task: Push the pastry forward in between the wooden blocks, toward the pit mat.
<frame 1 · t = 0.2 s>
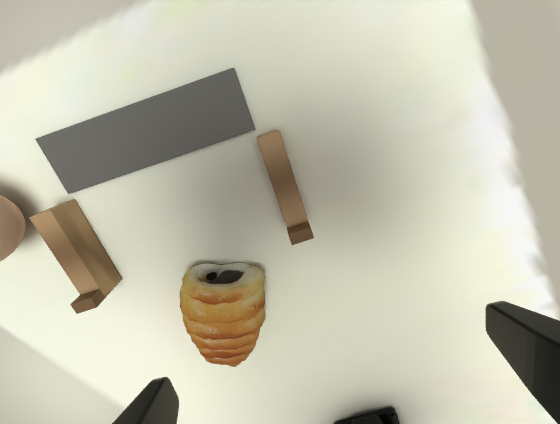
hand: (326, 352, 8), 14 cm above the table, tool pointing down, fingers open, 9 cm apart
egg: (11, 213, 21), on the table
pastry: (229, 298, 24), on the table
pit mat: (148, 134, 19), on the table
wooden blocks: (185, 212, 21), on the table
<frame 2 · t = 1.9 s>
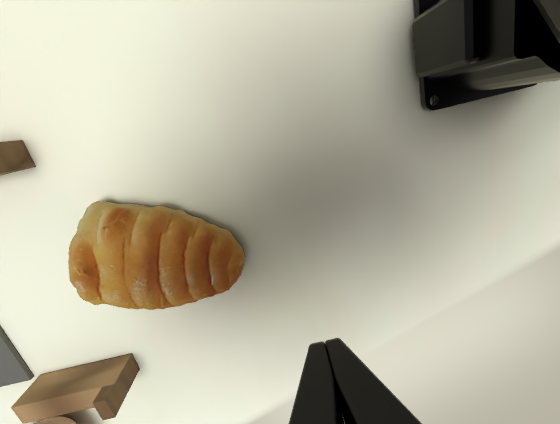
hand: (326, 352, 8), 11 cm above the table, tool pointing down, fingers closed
egg: (67, 420, 22), on the table
pastry: (163, 244, 18), on the table
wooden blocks: (38, 283, 18), on the table
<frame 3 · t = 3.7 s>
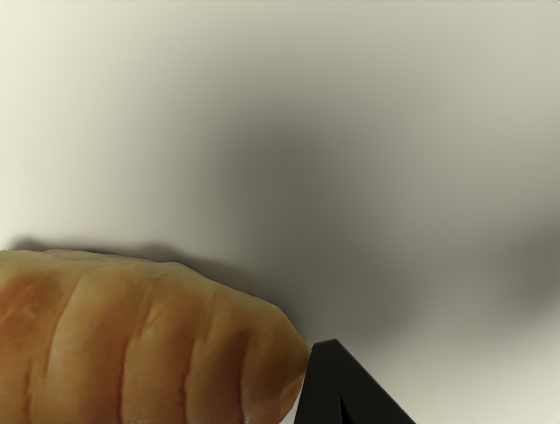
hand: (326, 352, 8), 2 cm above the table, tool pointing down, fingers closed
pastry: (143, 322, 10), on the table, touching gripper
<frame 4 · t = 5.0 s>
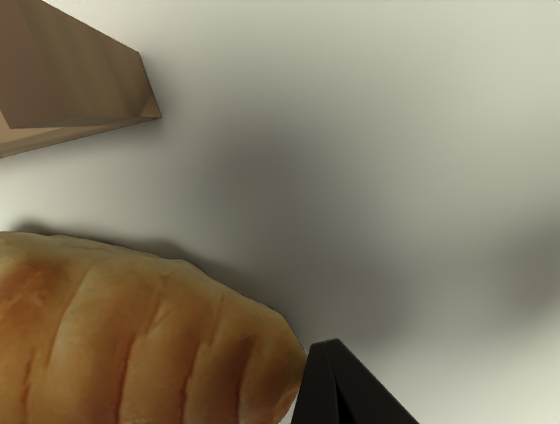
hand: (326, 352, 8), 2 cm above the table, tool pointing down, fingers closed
pastry: (141, 316, 9), on the table, touching gripper
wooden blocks: (136, 357, 9), on the table
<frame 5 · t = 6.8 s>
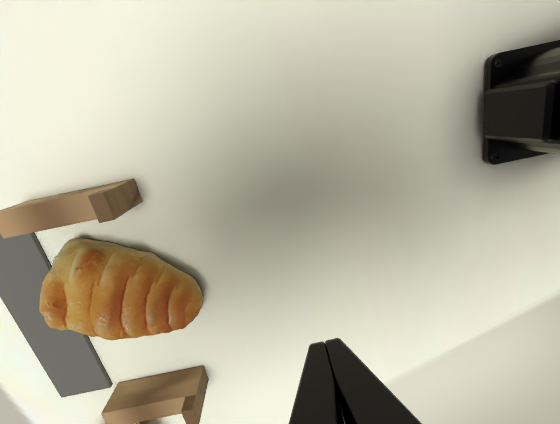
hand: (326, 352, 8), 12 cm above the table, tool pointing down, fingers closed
pastry: (131, 278, 20), on the table
pit mat: (48, 318, 20), on the table
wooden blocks: (129, 301, 20), on the table
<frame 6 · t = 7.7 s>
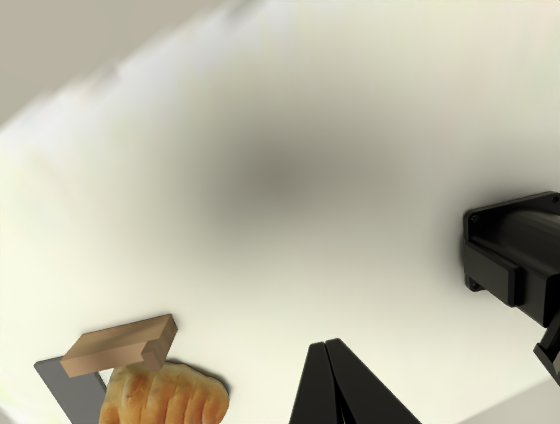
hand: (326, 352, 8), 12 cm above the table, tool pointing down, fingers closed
pastry: (167, 382, 24), on the table
pit mat: (99, 418, 24), on the table
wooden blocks: (166, 403, 24), on the table
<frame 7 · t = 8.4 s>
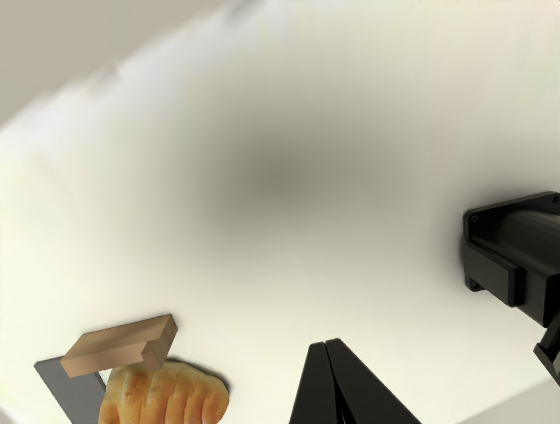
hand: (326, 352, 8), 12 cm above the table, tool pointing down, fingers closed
pastry: (167, 380, 24), on the table
pit mat: (99, 419, 24), on the table
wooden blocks: (166, 403, 24), on the table
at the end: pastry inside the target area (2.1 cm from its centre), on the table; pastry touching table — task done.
